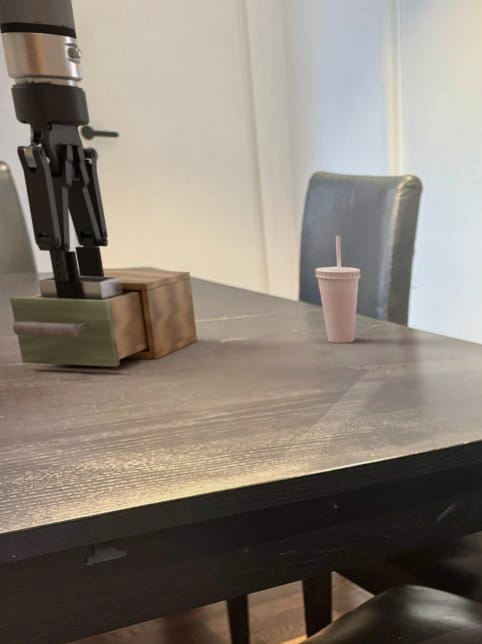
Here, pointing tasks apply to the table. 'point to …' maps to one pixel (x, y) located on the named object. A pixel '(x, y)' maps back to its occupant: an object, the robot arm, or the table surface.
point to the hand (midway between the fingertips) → (84, 306)
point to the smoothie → (339, 299)
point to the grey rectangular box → (86, 287)
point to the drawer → (80, 329)
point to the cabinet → (162, 308)
